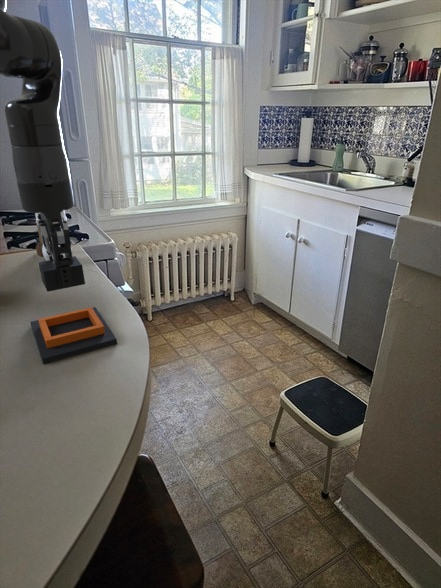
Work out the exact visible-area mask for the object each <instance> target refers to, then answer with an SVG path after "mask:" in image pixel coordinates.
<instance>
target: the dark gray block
mask: <svg viewBox="0 0 441 588" xmlns="http://www.w3.org/2000/svg"><path fill="white" fill-rule="evenodd" d="M72 259H73V265H70V267H71V273H72V279H73V286H72V287H71V288H73V287H78V286H84V285H86V280H85V274H84V273H85V272H84V268H83V264H82V262H81V261H80V260H79V259H78V258H77V256H72ZM38 267H39V272H40V277H41V281H42V283H43V286H44V288H45V290H46V292H47V293H49V292H53V291H58V290H63V289H65V288H63V289H61V288H60V287H59V285H58V280H57V275H56V270H55V266H54V265H53V260H49V261H46V260H44V261H39V262H38ZM68 288H70V287H68ZM68 288H67V289H68Z"/></svg>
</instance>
